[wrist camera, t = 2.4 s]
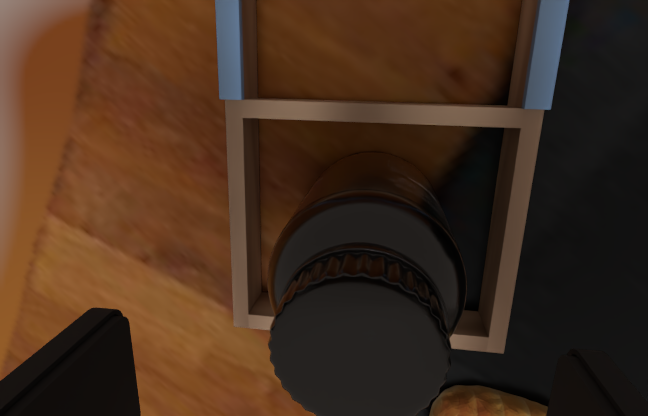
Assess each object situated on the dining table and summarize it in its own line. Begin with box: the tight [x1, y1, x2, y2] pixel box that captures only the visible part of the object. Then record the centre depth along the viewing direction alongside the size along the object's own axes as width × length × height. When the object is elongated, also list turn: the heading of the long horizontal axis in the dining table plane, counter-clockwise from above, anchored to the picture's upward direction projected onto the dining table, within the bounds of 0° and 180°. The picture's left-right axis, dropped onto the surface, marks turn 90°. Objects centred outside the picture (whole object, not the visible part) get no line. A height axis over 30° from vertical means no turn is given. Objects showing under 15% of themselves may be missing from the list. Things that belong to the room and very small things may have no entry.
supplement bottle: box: [267, 152, 467, 416], centre depth 17 cm, size 7×7×12 cm
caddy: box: [215, 0, 569, 354], centre depth 19 cm, size 14×22×3 cm, turn 179°
